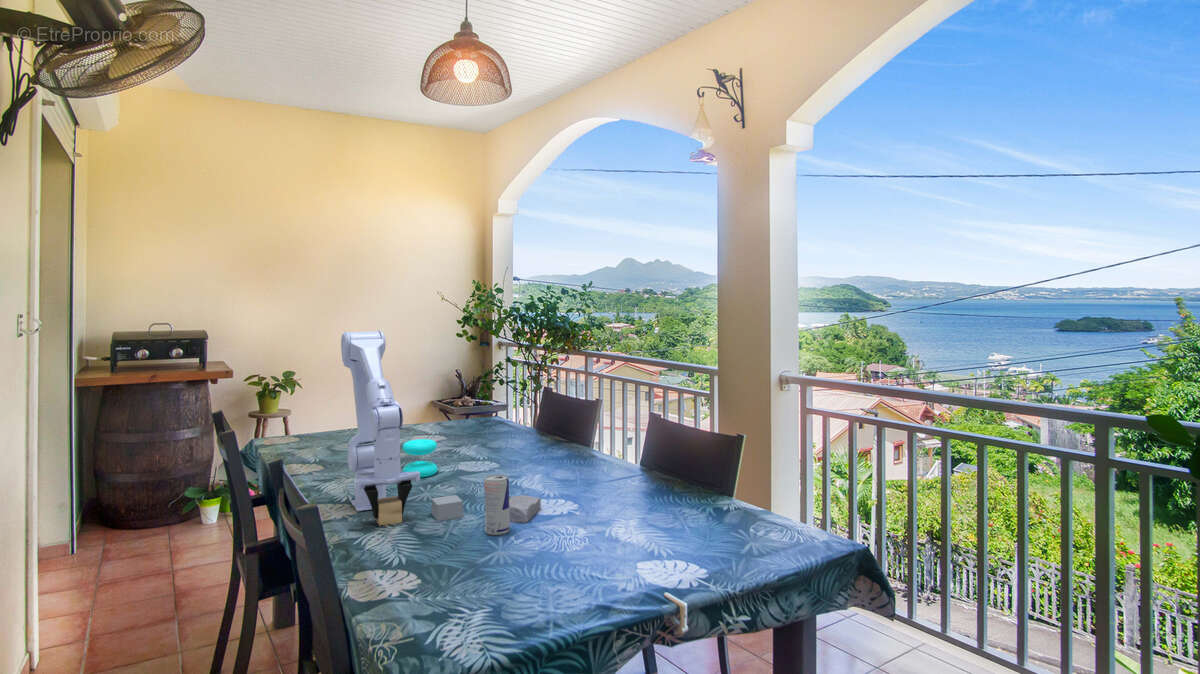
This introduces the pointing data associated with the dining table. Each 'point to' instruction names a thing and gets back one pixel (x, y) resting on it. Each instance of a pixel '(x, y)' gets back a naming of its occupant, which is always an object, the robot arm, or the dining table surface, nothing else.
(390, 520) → the wooden cube
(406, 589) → the dining table surface
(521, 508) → the stone block
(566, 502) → the dining table surface
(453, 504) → the grey block
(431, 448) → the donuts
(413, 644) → the dining table surface
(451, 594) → the dining table surface
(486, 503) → the energy drink
